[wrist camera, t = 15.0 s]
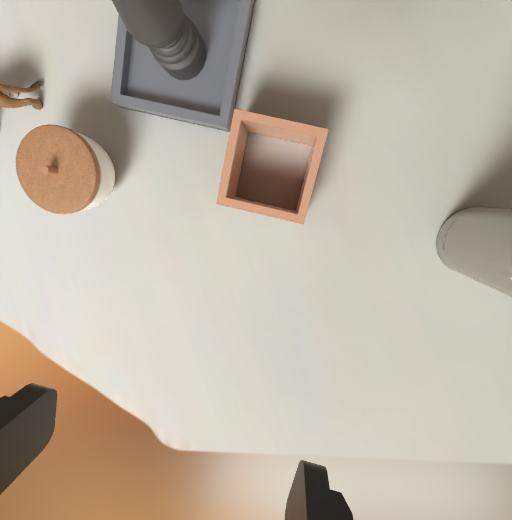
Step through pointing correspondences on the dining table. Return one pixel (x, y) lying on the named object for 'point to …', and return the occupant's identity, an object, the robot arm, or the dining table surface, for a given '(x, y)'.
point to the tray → (198, 88)
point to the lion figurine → (8, 102)
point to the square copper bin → (275, 129)
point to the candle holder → (165, 34)
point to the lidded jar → (64, 170)
